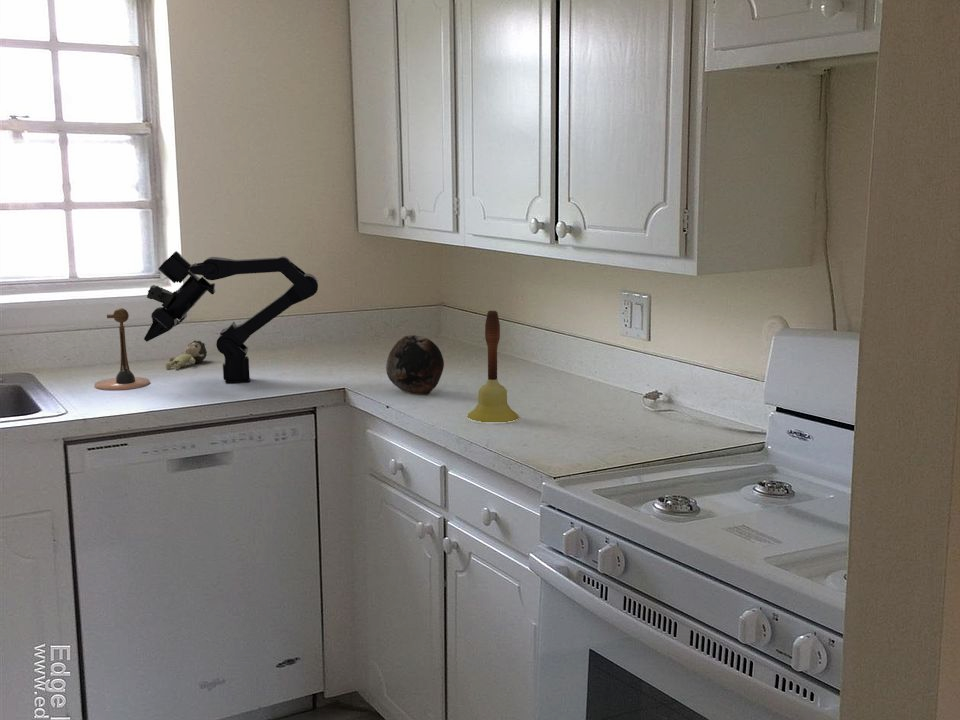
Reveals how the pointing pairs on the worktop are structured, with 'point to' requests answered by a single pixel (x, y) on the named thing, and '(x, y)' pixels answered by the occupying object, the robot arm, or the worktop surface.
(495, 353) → the handbell
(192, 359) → the figurine
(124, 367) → the wooden tabletop sculpture
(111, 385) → the coaster
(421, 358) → the decorative stone
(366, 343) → the worktop surface
